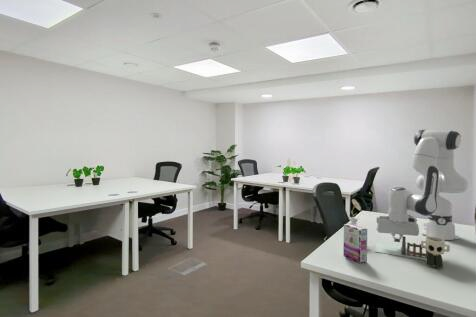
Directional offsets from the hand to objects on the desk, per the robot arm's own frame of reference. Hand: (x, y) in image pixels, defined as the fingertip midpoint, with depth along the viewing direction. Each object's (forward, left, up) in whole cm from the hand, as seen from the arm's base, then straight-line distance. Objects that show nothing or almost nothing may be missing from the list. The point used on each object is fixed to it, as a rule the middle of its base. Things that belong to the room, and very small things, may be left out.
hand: (396, 241), depth 149 cm
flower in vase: (-2, -22, -4) cm, 23 cm away
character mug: (+18, +15, -4) cm, 24 cm away
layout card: (+4, +2, -4) cm, 6 cm away
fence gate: (+2, +3, -3) cm, 5 cm away
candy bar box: (+26, -19, -4) cm, 32 cm away
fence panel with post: (+9, +8, -4) cm, 12 cm away
